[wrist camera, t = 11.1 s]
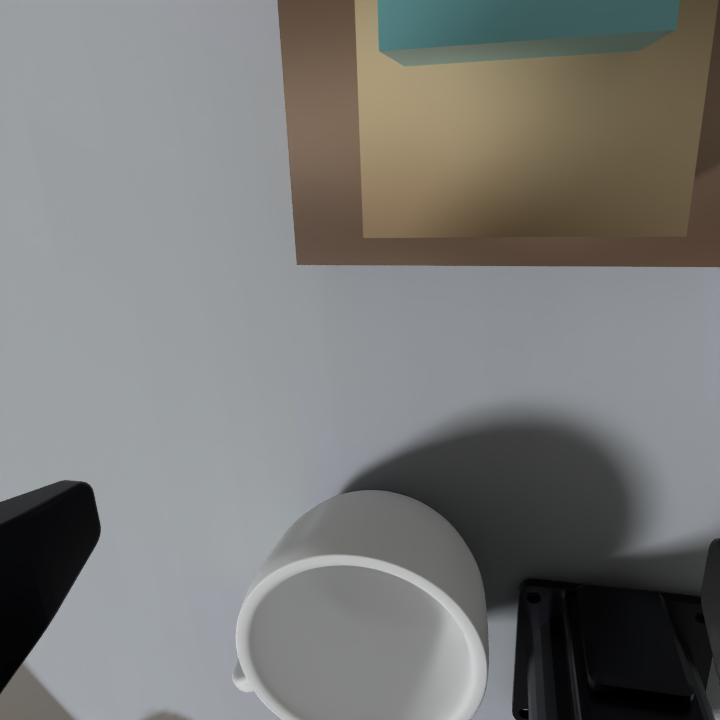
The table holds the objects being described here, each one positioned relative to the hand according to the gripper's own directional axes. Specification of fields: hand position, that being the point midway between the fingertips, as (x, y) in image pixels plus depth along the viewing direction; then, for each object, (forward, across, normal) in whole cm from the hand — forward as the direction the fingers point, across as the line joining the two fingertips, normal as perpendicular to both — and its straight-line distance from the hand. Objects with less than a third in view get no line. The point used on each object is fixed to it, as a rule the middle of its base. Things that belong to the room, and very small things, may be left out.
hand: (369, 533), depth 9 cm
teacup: (+12, +3, +10) cm, 16 cm away
